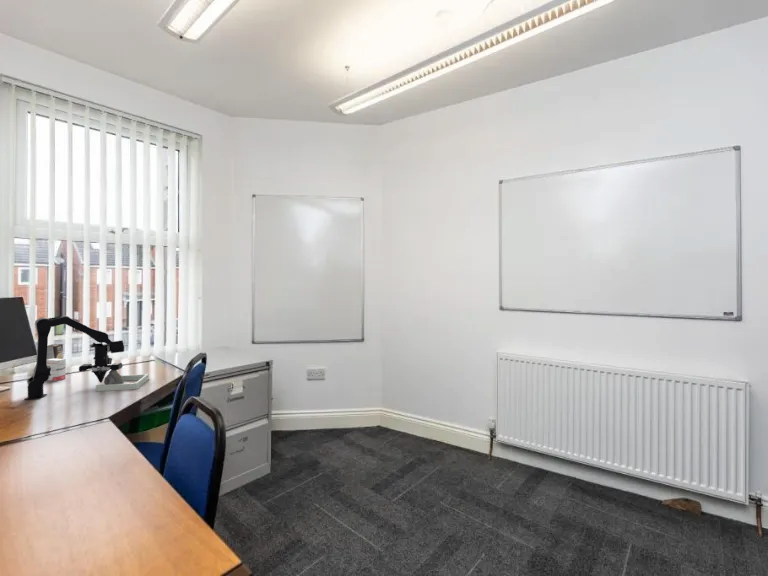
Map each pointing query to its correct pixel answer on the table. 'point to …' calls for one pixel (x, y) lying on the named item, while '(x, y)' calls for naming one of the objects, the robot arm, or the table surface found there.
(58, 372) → the ink box
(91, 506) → the table surface
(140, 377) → the pale grey u-shaped frame
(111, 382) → the mineral rock
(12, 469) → the table surface
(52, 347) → the coffee box
